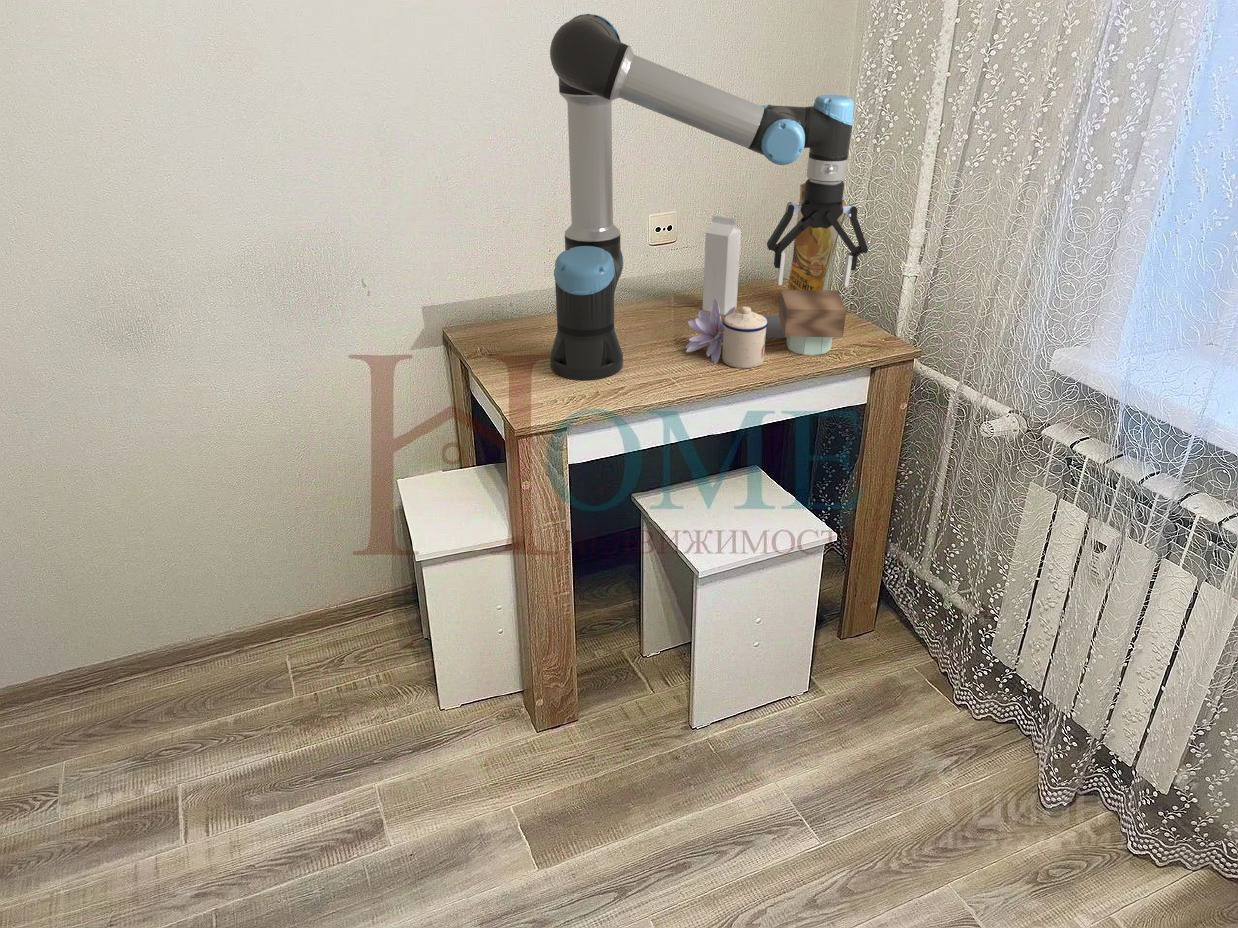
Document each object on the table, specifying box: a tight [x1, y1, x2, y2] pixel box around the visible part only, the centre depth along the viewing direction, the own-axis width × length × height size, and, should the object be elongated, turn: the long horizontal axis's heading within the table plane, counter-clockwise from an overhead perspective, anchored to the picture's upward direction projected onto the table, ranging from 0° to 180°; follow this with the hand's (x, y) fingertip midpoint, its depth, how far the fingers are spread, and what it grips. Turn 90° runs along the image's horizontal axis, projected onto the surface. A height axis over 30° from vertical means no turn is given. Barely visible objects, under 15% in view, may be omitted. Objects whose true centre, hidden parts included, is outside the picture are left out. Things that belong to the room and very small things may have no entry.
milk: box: [702, 215, 742, 316], centre depth 216 cm, size 6×6×22 cm
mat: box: [761, 314, 787, 339], centre depth 211 cm, size 14×14×1 cm
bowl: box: [785, 337, 833, 356], centre depth 199 cm, size 9×9×5 cm
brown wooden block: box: [778, 289, 847, 338], centre depth 197 cm, size 12×12×6 cm
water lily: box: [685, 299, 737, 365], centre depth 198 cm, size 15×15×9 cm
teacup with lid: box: [721, 306, 768, 369], centre depth 193 cm, size 12×9×12 cm
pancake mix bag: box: [787, 182, 848, 290], centre depth 214 cm, size 7×19×28 cm, turn 14°
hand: (812, 284), depth 194 cm, fingers open, 13 cm apart
